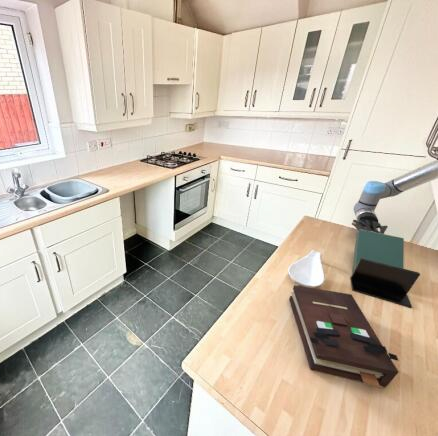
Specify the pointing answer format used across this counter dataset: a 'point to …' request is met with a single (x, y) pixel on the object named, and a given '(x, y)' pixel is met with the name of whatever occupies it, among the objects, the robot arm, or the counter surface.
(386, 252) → the book
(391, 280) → the bookend
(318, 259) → the spoon rest
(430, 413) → the counter surface
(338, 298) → the decorative book
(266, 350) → the counter surface
